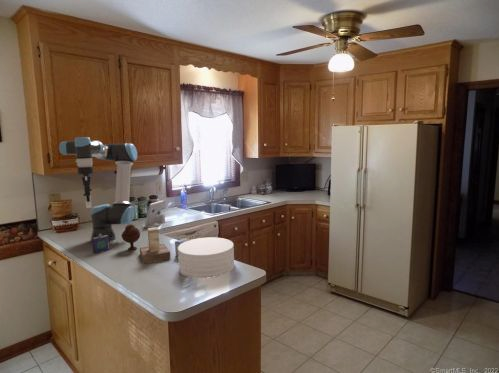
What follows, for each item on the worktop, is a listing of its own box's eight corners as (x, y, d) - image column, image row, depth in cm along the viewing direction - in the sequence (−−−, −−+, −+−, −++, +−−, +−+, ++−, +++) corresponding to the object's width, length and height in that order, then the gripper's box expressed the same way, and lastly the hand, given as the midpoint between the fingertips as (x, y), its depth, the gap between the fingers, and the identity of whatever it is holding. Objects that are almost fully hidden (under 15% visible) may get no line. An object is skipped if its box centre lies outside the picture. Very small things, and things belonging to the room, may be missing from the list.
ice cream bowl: (118, 251, 203) (116, 226, 200) (131, 245, 213) (129, 222, 211) (133, 253, 199) (131, 228, 197) (145, 247, 209) (143, 223, 207)
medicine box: (186, 252, 198) (185, 237, 197) (191, 253, 196) (190, 239, 194) (175, 256, 192) (174, 241, 191) (180, 257, 189) (179, 242, 188)
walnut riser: (140, 254, 196) (139, 247, 196) (164, 250, 202) (164, 243, 202) (144, 263, 182) (143, 256, 182) (170, 258, 188) (170, 251, 187)
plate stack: (240, 258, 186) (239, 238, 184) (225, 280, 159) (224, 256, 157) (191, 256, 192) (190, 236, 190) (169, 276, 165) (168, 253, 163)
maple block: (149, 249, 193) (147, 228, 191) (158, 247, 195) (156, 227, 193) (150, 251, 188) (148, 230, 187) (159, 250, 190) (158, 229, 189)
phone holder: (156, 221, 272) (155, 199, 270) (166, 222, 268) (165, 199, 265) (141, 226, 257) (139, 203, 254) (151, 228, 253) (149, 204, 250)
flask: (107, 248, 208) (106, 231, 206) (110, 249, 206) (108, 232, 204) (92, 253, 201) (90, 235, 199) (94, 254, 199) (92, 236, 198)
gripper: (77, 165, 192) (81, 202, 195) (76, 168, 170) (80, 210, 173) (92, 164, 195) (96, 200, 198) (93, 167, 173) (96, 208, 176)
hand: (88, 205), depth 186 cm, fingers open, 13 cm apart
